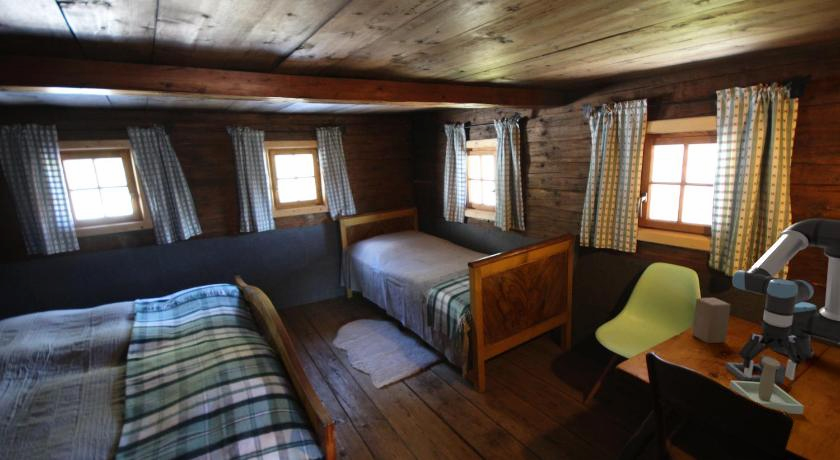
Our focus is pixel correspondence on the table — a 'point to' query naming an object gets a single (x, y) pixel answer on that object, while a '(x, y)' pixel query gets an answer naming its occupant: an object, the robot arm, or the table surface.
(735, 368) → the socket
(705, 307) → the wooden block
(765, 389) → the handle
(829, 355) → the table surface
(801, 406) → the tray
